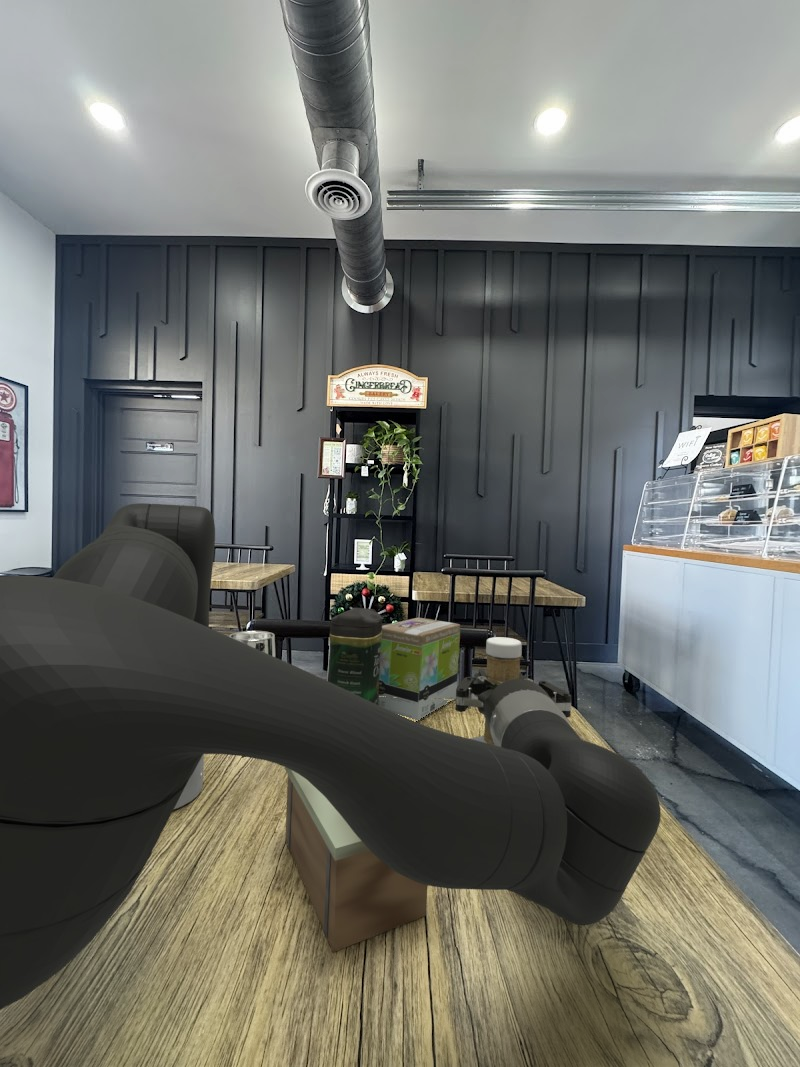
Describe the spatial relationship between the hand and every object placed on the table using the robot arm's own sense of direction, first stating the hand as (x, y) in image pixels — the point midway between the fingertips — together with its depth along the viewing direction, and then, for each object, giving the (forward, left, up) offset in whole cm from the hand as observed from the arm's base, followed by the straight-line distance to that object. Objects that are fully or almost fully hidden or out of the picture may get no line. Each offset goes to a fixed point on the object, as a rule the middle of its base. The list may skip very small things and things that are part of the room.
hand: (499, 678), depth 65 cm
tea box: (+1, +24, -12) cm, 27 cm away
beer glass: (-29, +22, -12) cm, 38 cm away
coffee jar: (-13, +20, -12) cm, 27 cm away
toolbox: (-26, -11, -12) cm, 31 cm away
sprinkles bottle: (-1, -2, -8) cm, 8 cm away
